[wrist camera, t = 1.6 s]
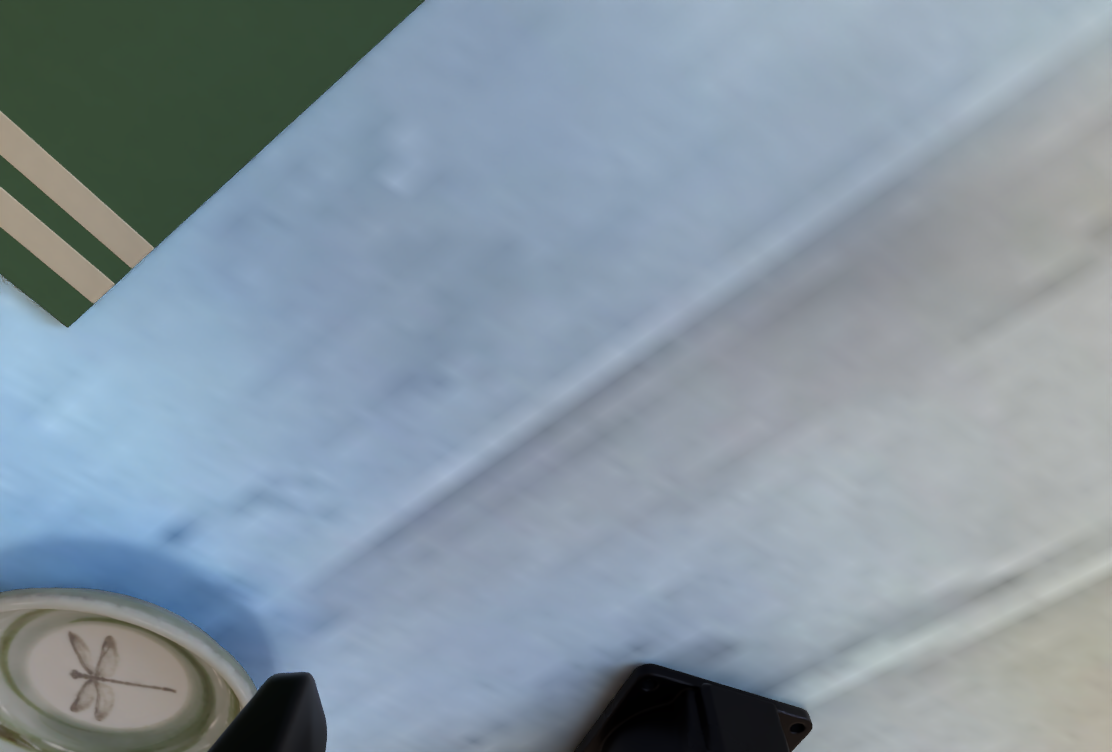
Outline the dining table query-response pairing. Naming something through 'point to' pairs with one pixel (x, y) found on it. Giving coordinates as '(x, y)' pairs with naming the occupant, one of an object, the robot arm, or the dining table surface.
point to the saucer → (110, 675)
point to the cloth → (147, 119)
